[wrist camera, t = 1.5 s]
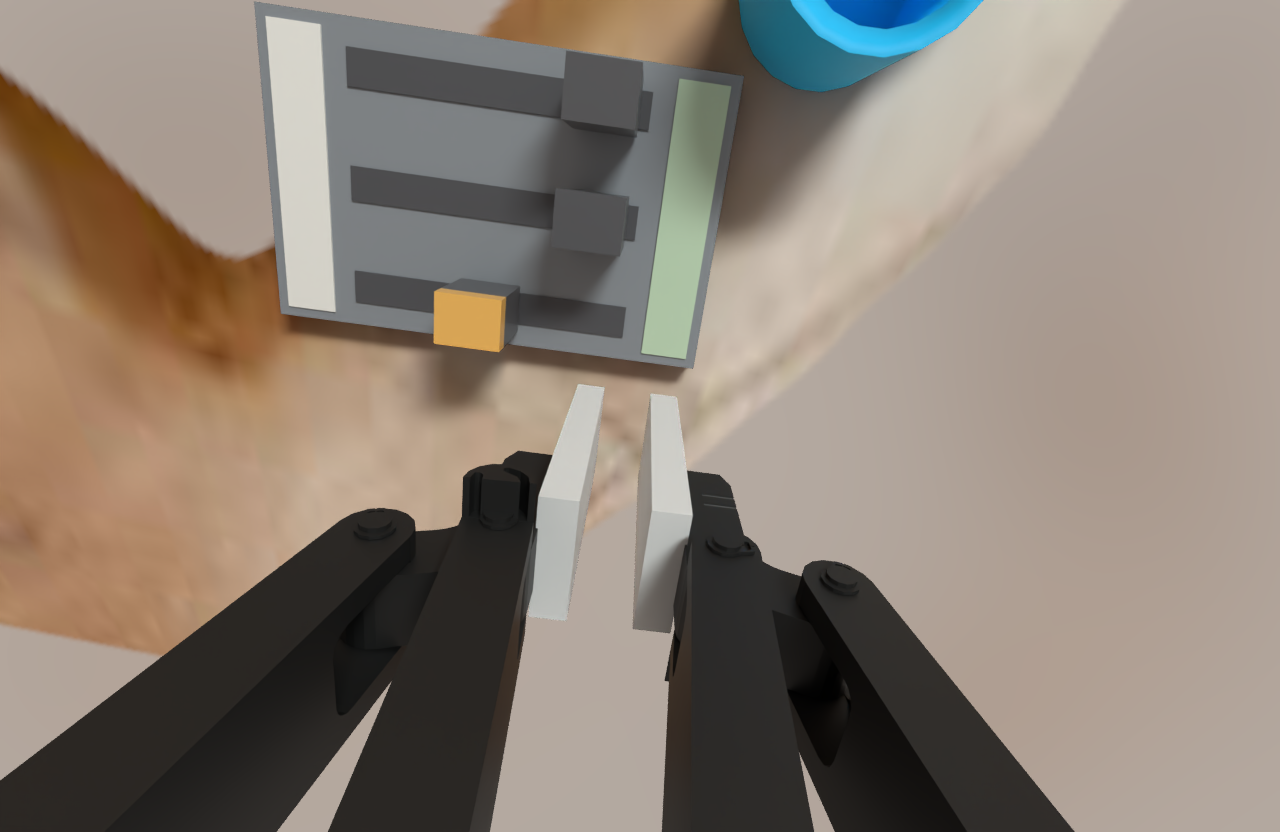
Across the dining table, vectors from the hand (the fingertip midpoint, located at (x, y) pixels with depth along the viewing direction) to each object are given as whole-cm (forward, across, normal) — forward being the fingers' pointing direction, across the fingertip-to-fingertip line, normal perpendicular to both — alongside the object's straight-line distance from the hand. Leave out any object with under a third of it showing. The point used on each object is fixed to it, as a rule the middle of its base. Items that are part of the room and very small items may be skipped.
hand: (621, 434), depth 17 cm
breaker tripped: (+15, -8, 0) cm, 17 cm away
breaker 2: (+15, -2, +5) cm, 16 cm away
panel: (+16, -8, +5) cm, 19 cm away
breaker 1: (+15, -2, +10) cm, 18 cm away
